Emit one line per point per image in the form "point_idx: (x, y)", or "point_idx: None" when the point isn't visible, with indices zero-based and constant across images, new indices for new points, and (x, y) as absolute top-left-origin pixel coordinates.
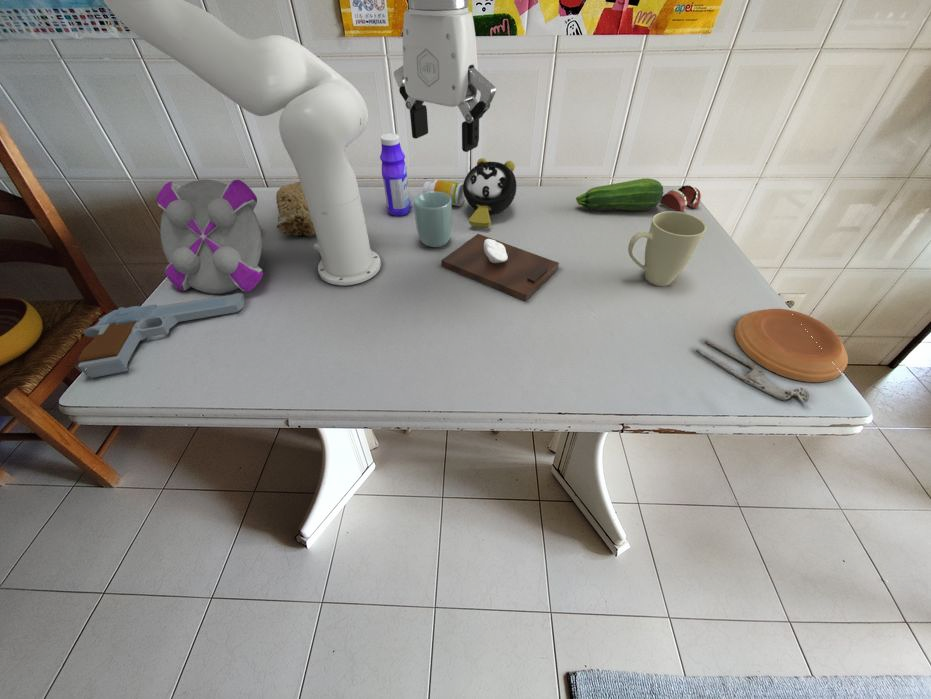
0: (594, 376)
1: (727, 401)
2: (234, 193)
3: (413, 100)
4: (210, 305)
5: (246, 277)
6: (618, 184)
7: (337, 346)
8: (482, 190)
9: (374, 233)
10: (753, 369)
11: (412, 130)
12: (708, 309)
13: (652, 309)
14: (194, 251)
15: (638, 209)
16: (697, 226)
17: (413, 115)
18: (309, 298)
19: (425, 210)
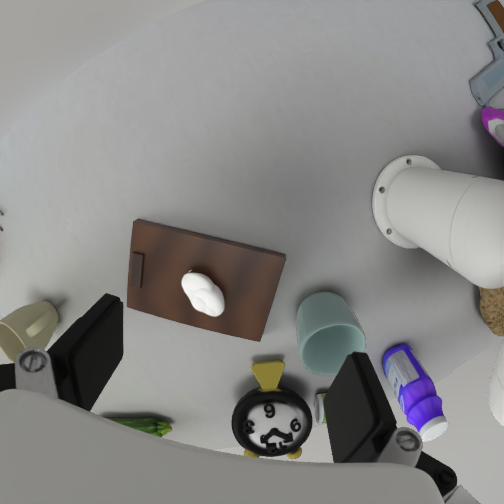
0: (49, 134)
1: None
2: None
3: (385, 462)
4: (490, 75)
5: (492, 111)
6: None
7: (335, 44)
8: (274, 410)
9: (413, 295)
10: None
11: (369, 367)
12: (11, 277)
13: (36, 260)
14: None
15: (111, 418)
16: (9, 350)
17: (375, 410)
18: (424, 120)
19: (336, 320)
